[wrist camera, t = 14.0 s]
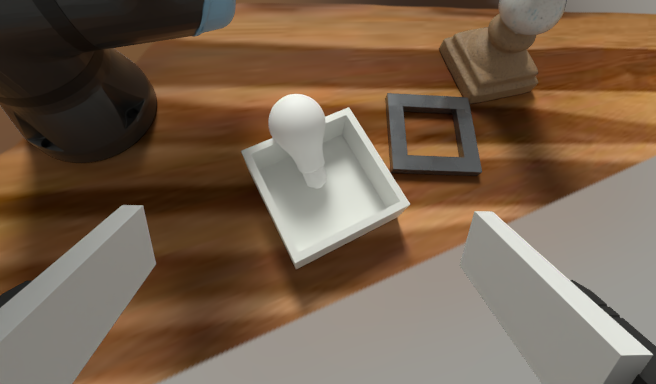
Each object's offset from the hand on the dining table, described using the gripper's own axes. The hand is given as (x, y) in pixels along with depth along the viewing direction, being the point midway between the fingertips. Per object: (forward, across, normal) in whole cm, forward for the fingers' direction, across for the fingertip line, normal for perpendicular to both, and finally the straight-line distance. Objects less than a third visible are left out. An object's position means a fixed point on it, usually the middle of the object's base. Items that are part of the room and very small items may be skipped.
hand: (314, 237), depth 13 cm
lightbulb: (+23, +1, -8) cm, 24 cm away
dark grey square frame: (+30, +16, -3) cm, 34 cm away
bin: (+24, +2, -9) cm, 26 cm away
